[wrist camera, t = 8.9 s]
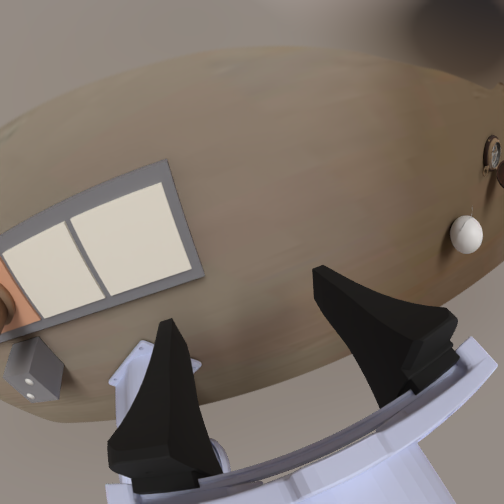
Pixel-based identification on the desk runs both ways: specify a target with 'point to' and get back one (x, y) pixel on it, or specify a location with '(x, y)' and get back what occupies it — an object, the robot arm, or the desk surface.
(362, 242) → the desk surface
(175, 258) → the board
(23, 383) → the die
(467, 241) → the seamed sphere
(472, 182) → the desk surface
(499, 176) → the compass
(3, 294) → the pawn
